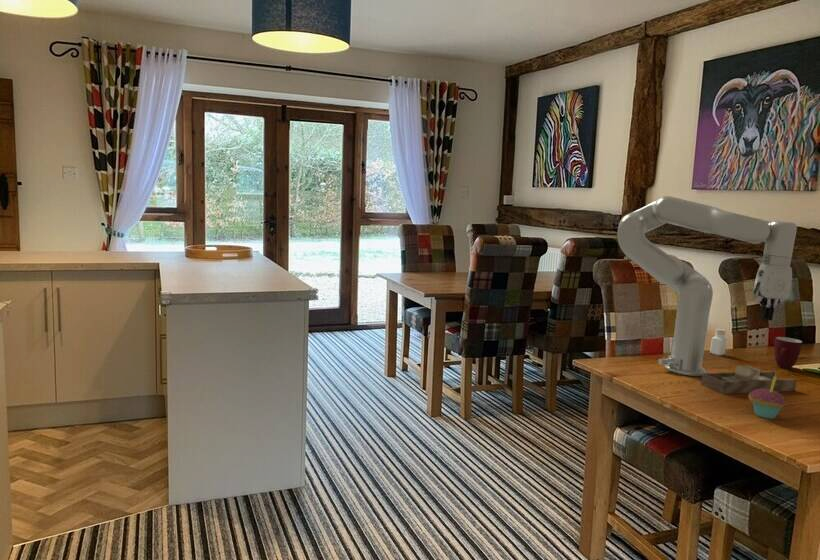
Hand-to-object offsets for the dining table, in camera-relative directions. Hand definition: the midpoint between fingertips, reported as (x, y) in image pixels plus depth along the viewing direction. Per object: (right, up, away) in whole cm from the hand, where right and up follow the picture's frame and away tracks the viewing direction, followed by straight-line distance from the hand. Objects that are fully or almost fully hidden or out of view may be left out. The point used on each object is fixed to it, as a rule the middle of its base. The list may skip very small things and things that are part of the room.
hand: (765, 319), depth 186 cm
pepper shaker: (+3, -16, +36) cm, 40 cm away
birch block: (-9, -18, -5) cm, 21 cm away
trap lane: (-8, -21, -4) cm, 22 cm away
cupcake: (-17, -24, -27) cm, 40 cm away
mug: (+20, -19, +23) cm, 35 cm away
